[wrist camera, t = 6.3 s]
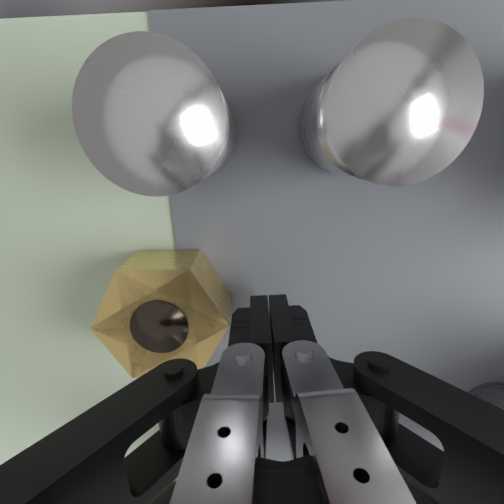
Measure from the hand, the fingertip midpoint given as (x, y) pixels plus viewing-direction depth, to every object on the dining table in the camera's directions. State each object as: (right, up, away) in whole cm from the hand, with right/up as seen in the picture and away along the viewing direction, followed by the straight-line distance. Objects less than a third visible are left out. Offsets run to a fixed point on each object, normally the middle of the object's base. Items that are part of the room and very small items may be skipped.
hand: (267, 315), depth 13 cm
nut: (-4, +1, +1) cm, 4 cm away
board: (0, +1, +2) cm, 2 cm away
